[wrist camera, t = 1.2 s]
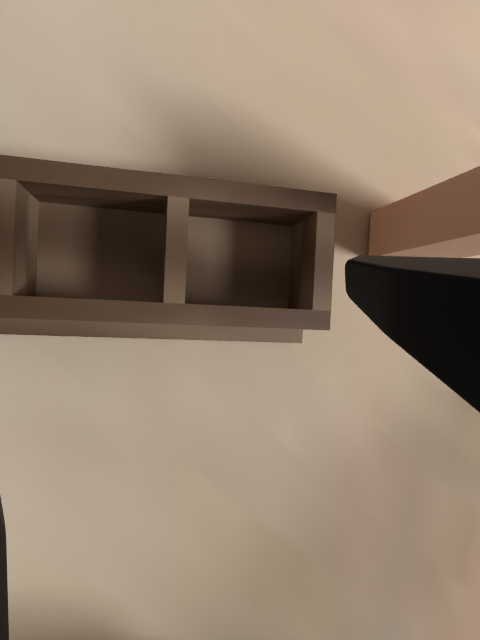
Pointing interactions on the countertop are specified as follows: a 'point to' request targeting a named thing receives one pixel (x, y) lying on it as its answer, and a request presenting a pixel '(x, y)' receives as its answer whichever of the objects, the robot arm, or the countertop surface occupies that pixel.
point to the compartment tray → (160, 255)
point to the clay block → (431, 221)
